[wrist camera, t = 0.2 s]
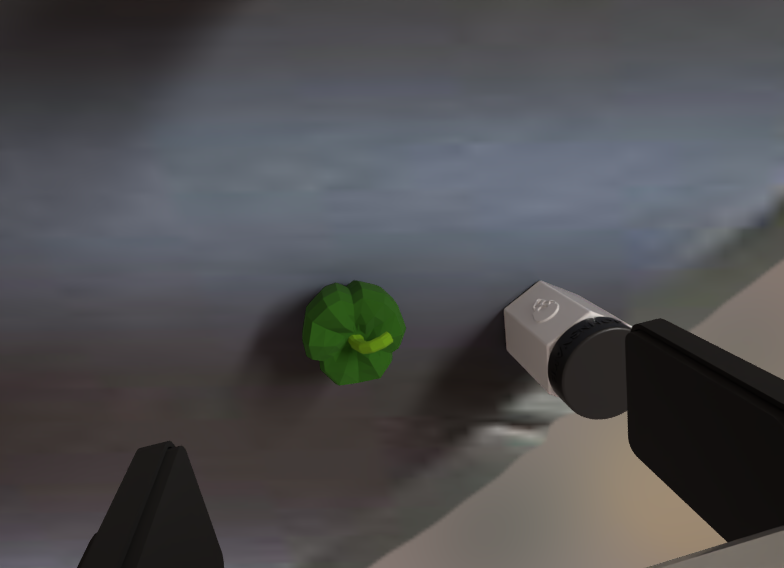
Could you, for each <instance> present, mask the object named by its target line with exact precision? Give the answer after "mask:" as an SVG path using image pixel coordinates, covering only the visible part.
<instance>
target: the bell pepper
mask: <svg viewBox="0 0 784 568" xmlns="http://www.w3.org/2000/svg"><path fill="white" fill-rule="evenodd" d="M405 330H406V326H405V324H404V321H403V318H402V316H401V313H400V310H399V308H398V305H397V304H396V302H395V301H394V299H393V298H392V297H391V296H390V295H389V294H388V293H387V292H386V291H384V290H383V289H382V288H381V287H379V286H377V285H374V284H370V283H365V282H360V281H352V282H351V283H350V284H349V285H347V286H344V285H341V284H338V283H333V284H331V285H328V286H325V287H324V288H323V289H322V290H321V291H320V292H319V293H318V294H317V295H316V297H315V298H314V299H313V300H312V301H311V302H310V303H309V304H308V306H307V307H306V312H305V318H304V324H303V331H302V341H303V344H304V348H305V352H306V355H307V357H309V358H311V359H312V360H319V362H320V370H321V371H322V372H323V373H325V374H326V375H327V376H328V377H329V378H330V379H331V380H332V381H333V382H334V383H335V384H337V385H345V384H352V383H359V382H364V381H369V380H373V379H378V378H381V376H382V375H383V373H384V372H385V370H386V369H387V367H388V366H389V364H390V363H391V361H392V352H393V351H395V350H397V349H398V348H399V346H400V344H401V342H402V339H403V336H404V333H405Z"/></svg>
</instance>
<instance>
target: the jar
mask: <svg viewBox="0 0 784 568" xmlns="http://www.w3.org/2000/svg"><path fill="white" fill-rule="evenodd" d="M504 321H505V336H506V349H507V351H508V352H509V353H510V354H511V355H512V356H513V357H514V358H515V359H516V361H517V362H518V363H519V364H520V365H521V366H522V367H523V368H524V369H525V370H526V371H527V372H528V373H529V374H530V375H531V376H532V377H533V378H534V379H535V380H536V381H537V382H538V383H539V384H540V385H541V386H542V387H543V388H544V389H545V390H546V391H547V392H548V393H549V394H551V395H554V396H557V397H560V398H561V399H562V400H563V401H564V402H565V403H566V404H567V405H568V406H569V407H570V408H571V409H572V410H573V411H574V412H575V413H577V414H579V415H580V416H583V417H586V418H589V419H608V418H612V417H615V416H618V415H620V414H622V413H624V412H626V411H627V385H626V356H625V337H626V335H627V334H628V333H630V331H631V328H632V326H631V325H629V324H627V323H626V322H624V321H622V320H620V319H619V318H617V317H615V316H613V315H612V314H610V313H608V312H606V311H605V310H603V309H601V308H600V307H598V306H596V305H594V304H593V303H591V302H589V301H587V300H586V299H584V298H582V297H580V296H579V295H577V294H575V293H572V292H569V291H567V290H564V289H561V288H559V287H556V286H554V285H551V284H548V283H546V282H543V281H538V282H537V283H536V284H535V285H533V286H532V287H531V288H530V289H528V290H527V291H526V292H525V293H523V294H522V295H521V296H520V297H518V298H517V299H516V300H515V301H513V302H512V303H511V304H509V305H508V306H507V307H506V308H505V309H504Z"/></svg>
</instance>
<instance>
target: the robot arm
mask: <svg viewBox="0 0 784 568" xmlns="http://www.w3.org/2000/svg"><path fill="white" fill-rule="evenodd" d="M625 356H626V385H627V412H628V439H629V444H630V447H631V449H632V451H633V452H634V454H635V455H636V456H637V457H638V458H639V459H640V460H641V461H642V462H643V463H644V464H645V465H646V466H647V467H648V468H649V469H651V470H652V471H653V472H654V473H655V474H656V475H657V476H658V477H659V478H660V479H661V480H662V481H663V482H664V483H665V484H666V485H667V486H669V487H670V488H671V489H672V490H673V491H674V492H675V493H676V494H677V495H678V496H679V497H680V498H681V499H682V500H683V501H684V502H685V503H687V504H688V505H689V506H690V507H691V508H692V509H693V510H694V511H695V512H696V513H697V514H698V515H699V516H700V517H701V518H702V519H703V520H705V521H706V522H707V523H708V524H709V525H710V526H711V527H712V528H713V529H714V530H715V531H716V532H717V533H718V534H719V535H720V536H722V537H723V538H724V539H725V540H726V541H727V542H728V543H725V544H722V545H718V546H715V547H712V548H708V549H705V550H702V551H699V552H695V553H692V554H689V555H686V556H682V557H679V558H676V559H673V560H669V561H666V562H663V563H660V564H657V565H653V566H650V567H647V568H784V380H783V379H780V378H779V377H776V376H775V375H773V374H771V373H769V372H767V371H765V370H763V369H761V368H759V367H757V366H755V365H753V364H751V363H749V362H747V361H745V360H743V359H741V358H739V357H737V356H735V355H733V354H731V353H729V352H727V351H725V350H723V349H721V348H719V347H718V346H716V345H714V344H712V343H709V342H708V341H706V340H704V339H702V338H700V337H698V336H696V335H694V334H692V333H690V332H688V331H686V330H684V329H682V328H680V327H678V326H676V325H674V324H672V323H670V322H668V321H666V320H664V319H661V318H660V319H655V320H651V321H647V322H643V323H639V324H635V325H634V326H633V327H632V328H631V331H630V333H628V334H627V335H626V337H625ZM77 568H224V561H223V555H222V552H221V549H220V546H219V543H218V540H217V537H216V534H215V532H214V529H213V526H212V523H211V520H210V517H209V514H208V512H207V509H206V506H205V503H204V500H203V497H202V495H201V492H200V489H199V486H198V483H197V480H196V478H195V475H194V472H193V469H192V466H191V463H190V460H189V458H188V455H187V452H186V450H185V448H184V447H183V446H178V447H175V445H174V444H173V443H172V442H171V441H167V442H163V443H159V444H155V445H151V446H147V447H143V448H139V449H138V450H137V452H136V453H135V456H134V458H133V460H132V462H131V464H130V466H129V468H128V470H127V472H126V474H125V476H124V478H123V481H122V483H121V485H120V487H119V489H118V491H117V493H116V495H115V497H114V499H113V501H112V503H111V506H110V508H109V510H108V512H107V514H106V516H105V518H104V520H103V522H102V524H101V526H100V528H99V530H98V532H97V533H96V534H94V536H93V537H92V539H91V540H90V542H89V544H88V546H87V548H86V550H85V552H84V554H83V557H82V559H81V561H80V563H79V565H78V567H77Z"/></svg>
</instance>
